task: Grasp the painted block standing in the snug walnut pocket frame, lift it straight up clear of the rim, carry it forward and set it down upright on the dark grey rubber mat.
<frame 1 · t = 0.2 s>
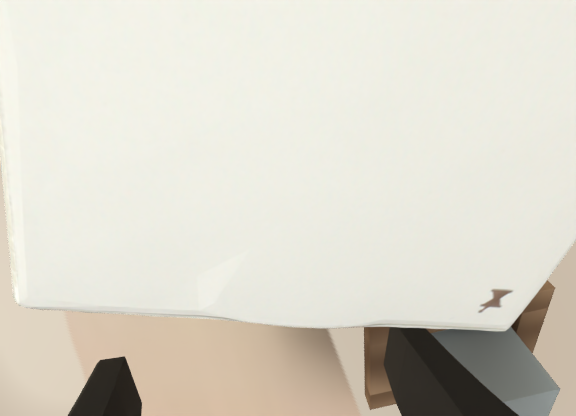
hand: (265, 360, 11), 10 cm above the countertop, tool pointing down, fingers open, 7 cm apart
small box: (257, 7, 16), on the countertop
walnut pocket frame: (447, 339, 29), on the countertop
painted block: (469, 375, 26), in the walnut pocket frame
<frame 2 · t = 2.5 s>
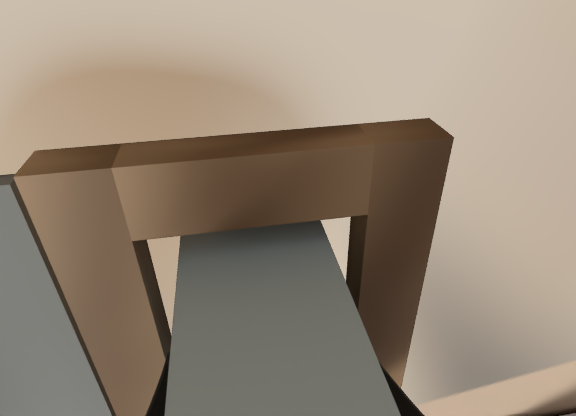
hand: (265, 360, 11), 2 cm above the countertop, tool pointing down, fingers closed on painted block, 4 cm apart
walnut pocket frame: (259, 316, 13), on the countertop
painted block: (271, 406, 10), in the walnut pocket frame, touching gripper
when the fingers open (3 cm above the countertop, at t = 6.8 s): painted block stays where it is, resting on rubber mat.
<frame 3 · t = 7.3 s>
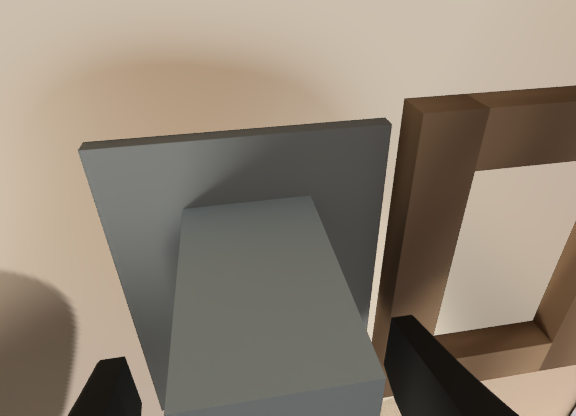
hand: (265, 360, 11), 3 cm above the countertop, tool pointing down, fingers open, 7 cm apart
rubber mat: (254, 283, 14), on the countertop
walnut pocket frame: (499, 251, 15), on the countertop
painted block: (267, 371, 11), on the rubber mat
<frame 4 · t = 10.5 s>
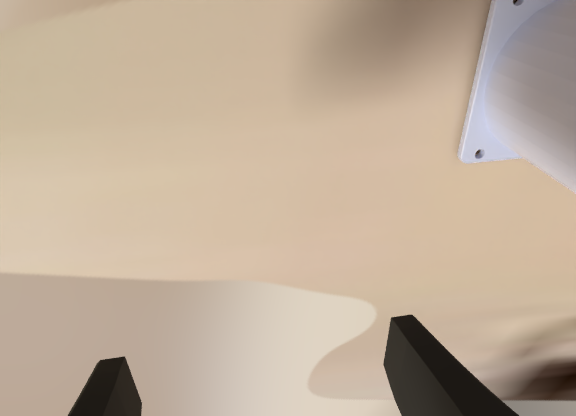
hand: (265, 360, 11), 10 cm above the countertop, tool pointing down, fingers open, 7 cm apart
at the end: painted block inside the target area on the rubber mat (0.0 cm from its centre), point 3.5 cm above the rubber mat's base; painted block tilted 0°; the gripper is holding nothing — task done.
